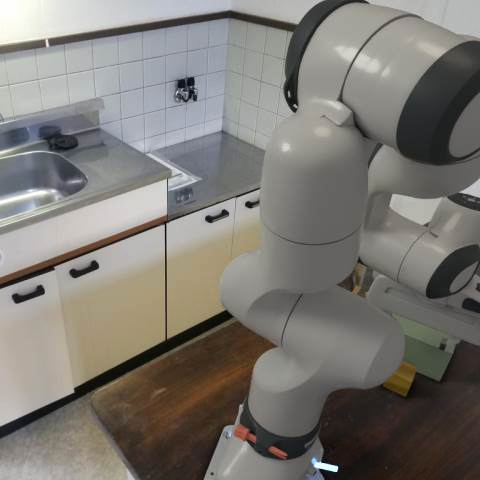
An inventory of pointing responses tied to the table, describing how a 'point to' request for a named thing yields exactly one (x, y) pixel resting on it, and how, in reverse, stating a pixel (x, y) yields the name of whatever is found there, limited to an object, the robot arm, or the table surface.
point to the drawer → (357, 292)
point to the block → (401, 379)
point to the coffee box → (363, 278)
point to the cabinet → (424, 348)
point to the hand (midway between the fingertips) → (415, 337)
